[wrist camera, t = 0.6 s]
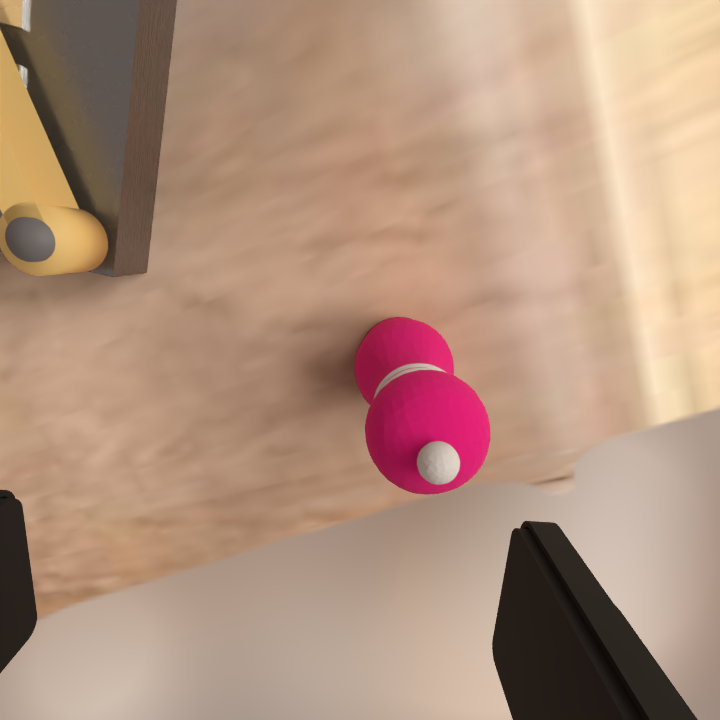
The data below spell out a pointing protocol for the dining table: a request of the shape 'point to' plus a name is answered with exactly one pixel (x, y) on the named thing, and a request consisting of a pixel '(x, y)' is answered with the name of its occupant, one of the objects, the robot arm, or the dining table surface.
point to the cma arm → (38, 191)
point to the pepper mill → (419, 409)
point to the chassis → (100, 105)
